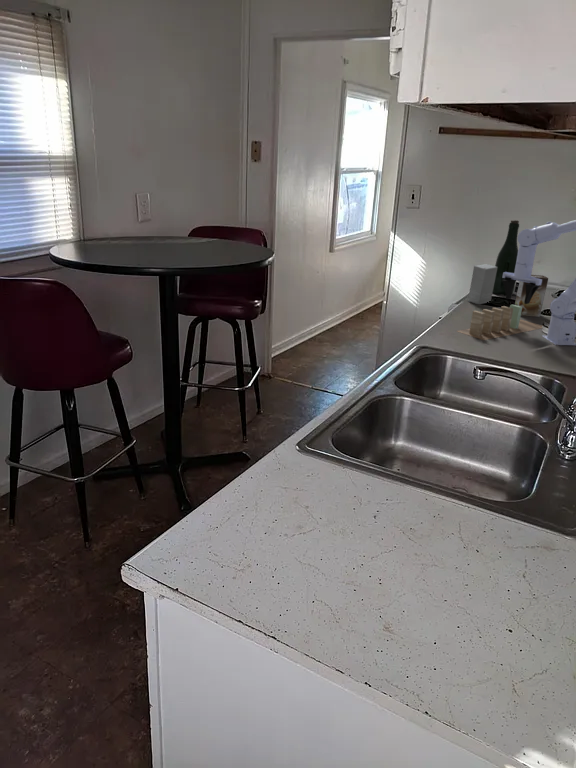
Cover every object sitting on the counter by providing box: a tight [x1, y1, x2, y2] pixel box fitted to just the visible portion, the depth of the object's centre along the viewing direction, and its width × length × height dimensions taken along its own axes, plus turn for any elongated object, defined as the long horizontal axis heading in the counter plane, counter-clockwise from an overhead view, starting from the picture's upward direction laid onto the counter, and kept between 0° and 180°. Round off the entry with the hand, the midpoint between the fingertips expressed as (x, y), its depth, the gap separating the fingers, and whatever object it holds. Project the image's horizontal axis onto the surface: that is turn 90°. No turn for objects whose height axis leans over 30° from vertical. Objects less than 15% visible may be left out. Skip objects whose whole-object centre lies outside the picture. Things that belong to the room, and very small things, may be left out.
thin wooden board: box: [456, 318, 543, 341], centre depth 218 cm, size 37×12×1 cm, turn 125°
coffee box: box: [514, 274, 549, 318], centre depth 238 cm, size 9×6×16 cm
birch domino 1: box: [469, 310, 485, 336], centre depth 208 cm, size 2×4×8 cm, turn 35°
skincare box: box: [467, 263, 497, 305], centre depth 256 cm, size 8×7×16 cm
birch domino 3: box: [491, 307, 504, 332], centre depth 214 cm, size 2×4×8 cm, turn 35°
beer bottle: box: [492, 219, 520, 296], centre depth 272 cm, size 10×10×33 cm
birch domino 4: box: [500, 305, 513, 331], centre depth 216 cm, size 2×4×8 cm, turn 34°
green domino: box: [509, 304, 522, 329], centre depth 219 cm, size 2×4×8 cm, turn 34°
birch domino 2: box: [481, 308, 495, 334], centre depth 211 cm, size 2×4×8 cm, turn 35°
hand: (517, 301), depth 217 cm, fingers open, 7 cm apart
